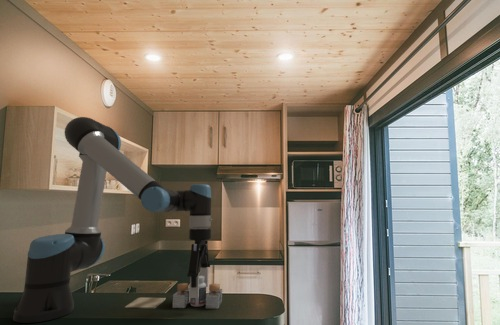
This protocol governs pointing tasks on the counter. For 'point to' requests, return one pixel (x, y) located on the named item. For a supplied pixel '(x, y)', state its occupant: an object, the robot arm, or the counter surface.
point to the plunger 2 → (214, 287)
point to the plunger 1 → (182, 287)
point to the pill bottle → (200, 294)
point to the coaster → (145, 303)
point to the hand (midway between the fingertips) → (199, 291)
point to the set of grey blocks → (184, 297)
